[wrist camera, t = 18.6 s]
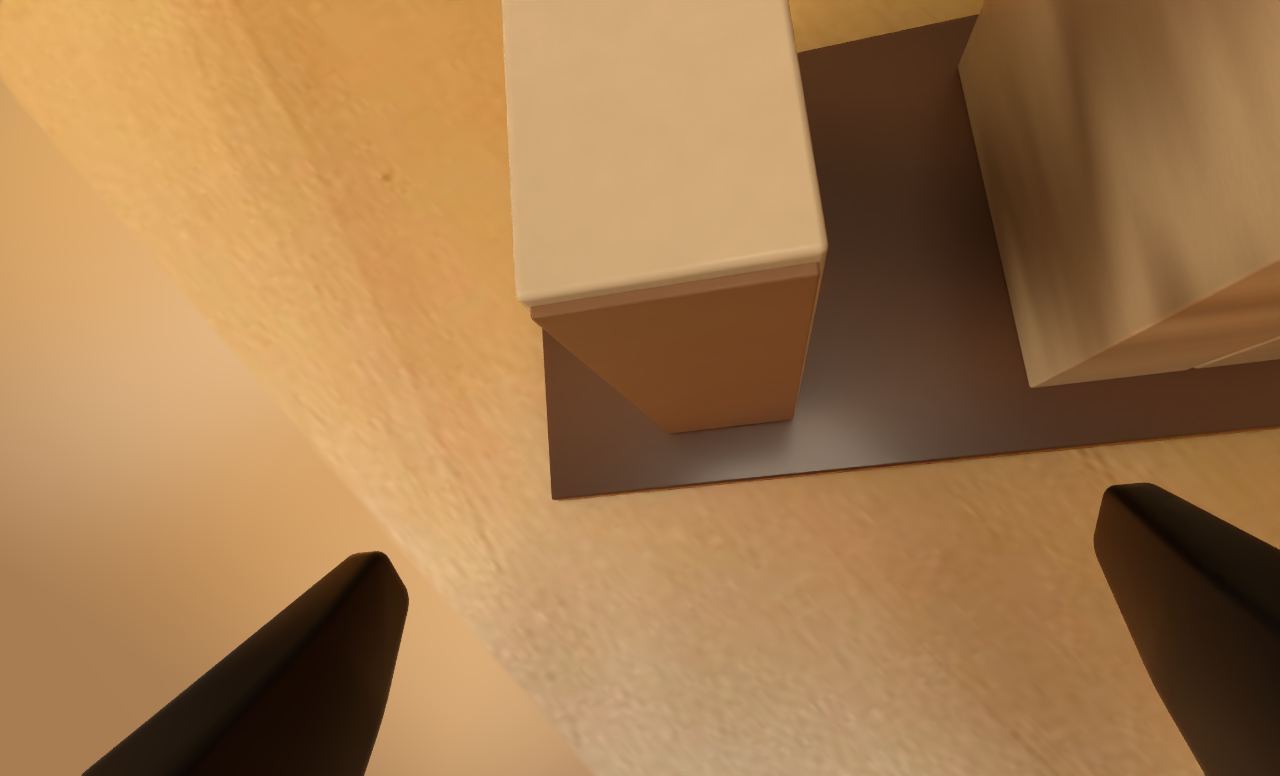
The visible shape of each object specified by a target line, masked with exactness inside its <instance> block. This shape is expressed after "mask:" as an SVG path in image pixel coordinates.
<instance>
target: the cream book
mask: <svg viewBox="0 0 1280 776" xmlns="http://www.w3.org/2000/svg"><path fill="white" fill-rule="evenodd" d="M501 4H502V25H503V45H504V66H505V87H506V108H507V129H508V149H509V170H510V191H511V212H512V232H513V253H514V274H515V295H516V298H517V300H518V301H519V302H520V303H521V304H522V305H523V306H524V307H526V308H527V309H528V310H529V311H530V312H531V318H532V320H533V321H534V322H536V323H537V324H538V325H539V326H540V327H542V328H543V329H544V330H545V331H546V332H548V333H549V334H550V335H551V336H552V337H554V338H555V339H556V340H557V341H558V342H560V343H561V344H562V345H563V346H564V347H566V348H567V349H568V350H569V351H570V352H572V353H573V354H574V355H575V356H576V357H578V358H579V359H580V360H581V361H582V362H584V363H585V364H586V365H587V366H588V367H590V368H591V369H592V370H593V371H594V372H596V373H597V374H598V375H599V376H600V377H602V378H603V379H604V380H605V381H606V382H608V383H609V384H610V385H611V386H612V387H614V388H615V389H616V390H617V391H618V392H620V393H621V394H622V395H623V396H624V397H626V398H627V399H628V400H629V401H630V402H632V403H633V404H634V405H635V406H636V407H638V408H639V409H640V410H641V411H642V412H644V413H645V414H646V415H647V416H648V417H650V418H651V419H652V420H653V421H654V422H656V423H657V424H658V425H659V426H660V427H662V428H663V429H664V430H665V431H666V432H668V433H669V434H671V433H680V432H688V431H697V430H705V429H714V428H723V427H731V426H740V425H748V424H757V423H766V422H774V421H783V420H791V419H793V415H794V413H795V411H796V406H797V401H798V396H799V391H800V386H801V381H802V376H803V371H804V366H805V361H806V356H807V351H808V345H809V340H810V335H811V330H812V325H813V320H814V315H815V310H816V305H817V300H818V295H819V290H820V285H821V280H822V275H823V270H824V265H825V260H826V255H827V250H828V240H827V234H826V228H825V221H824V215H823V209H822V203H821V197H820V191H819V185H818V178H817V172H816V166H815V160H814V154H813V148H812V142H811V136H810V129H809V123H808V117H807V111H806V105H805V99H804V93H803V86H802V80H801V74H800V68H799V62H798V56H797V50H796V44H795V37H794V31H793V25H792V19H791V13H790V7H789V1H788V0H501Z"/></svg>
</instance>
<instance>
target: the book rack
mask: <svg viewBox="0 0 1280 776" xmlns="http://www.w3.org/2000/svg"><path fill="white" fill-rule="evenodd" d="M797 56H798V62H799V68H800V74H801V80H802V86H803V93H804V99H805V105H806V111H807V117H808V123H809V129H810V136H811V142H812V148H813V154H814V160H815V166H816V172H817V178H818V185H819V191H820V197H821V203H822V209H823V215H824V221H825V228H826V234H827V240H828V250H827V255H826V260H825V265H824V270H823V275H822V280H821V285H820V290H819V295H818V300H817V305H816V310H815V315H814V320H813V325H812V330H811V335H810V340H809V345H808V351H807V356H806V361H805V366H804V371H803V376H802V381H801V386H800V391H799V396H798V401H797V406H796V411H795V413H794V415H793V419H791V420H783V421H774V422H766V423H757V424H748V425H740V426H731V427H723V428H714V429H705V430H697V431H688V432H680V433H671V434H669V433H668V432H666V431H665V430H664V429H663V428H662V427H660V426H659V425H658V424H657V423H656V422H654V421H653V420H652V419H651V418H650V417H648V416H647V415H646V414H645V413H644V412H642V411H641V410H640V409H639V408H638V407H636V406H635V405H634V404H633V403H632V402H630V401H629V400H628V399H627V398H626V397H624V396H623V395H622V394H621V393H620V392H618V391H617V390H616V389H615V388H614V387H612V386H611V385H610V384H609V383H608V382H606V381H605V380H604V379H603V378H602V377H600V376H599V375H598V374H597V373H596V372H594V371H593V370H592V369H591V368H590V367H588V366H587V365H586V364H585V363H584V362H582V361H581V360H580V359H579V358H578V357H576V356H575V355H574V354H573V353H572V352H570V351H569V350H568V349H567V348H566V347H564V346H563V345H562V344H561V343H560V342H558V341H557V340H556V339H555V338H554V337H552V336H551V335H550V334H549V333H548V332H546V331H545V330H544V329H543V328H542V333H543V350H544V368H545V386H546V403H547V421H548V439H549V456H550V474H551V492H552V499H553V500H559V501H561V500H571V499H580V498H590V497H600V496H610V495H620V494H630V493H640V492H650V491H660V490H670V489H680V488H690V487H700V486H710V485H720V484H730V483H740V482H750V481H760V480H769V479H779V478H789V477H799V476H809V475H819V474H829V473H839V472H849V471H859V470H869V469H879V468H889V467H899V466H909V465H919V464H929V463H939V462H949V461H958V460H968V459H978V458H988V457H998V456H1008V455H1018V454H1028V453H1038V452H1048V451H1058V450H1068V449H1078V448H1088V447H1098V446H1108V445H1118V444H1128V443H1138V442H1147V441H1157V440H1167V439H1177V438H1187V437H1197V436H1207V435H1217V434H1227V433H1237V432H1247V431H1257V430H1267V429H1277V428H1280V0H985V1H984V3H983V6H982V8H981V11H980V13H979V14H977V15H973V16H968V17H963V18H959V19H954V20H949V21H945V22H940V23H935V24H931V25H926V26H921V27H916V28H912V29H907V30H902V31H898V32H893V33H888V34H884V35H879V36H874V37H870V38H865V39H860V40H856V41H851V42H846V43H842V44H837V45H832V46H827V47H823V48H818V49H813V50H809V51H804V52H799V53H797Z"/></svg>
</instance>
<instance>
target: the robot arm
mask: <svg viewBox="0 0 1280 776" xmlns="http://www.w3.org/2000/svg"><path fill="white" fill-rule="evenodd" d="M1094 549H1095V553H1096V556H1097V559H1098V561H1099V564H1100V566H1101V568H1102V570H1103V573H1104V575H1105V577H1106V579H1107V582H1108V584H1109V586H1110V588H1111V591H1112V593H1113V595H1114V597H1115V600H1116V602H1117V604H1118V606H1119V609H1120V611H1121V613H1122V616H1123V618H1124V620H1125V622H1126V625H1127V627H1128V629H1129V631H1130V634H1131V636H1132V638H1133V640H1134V643H1135V645H1136V647H1137V649H1138V652H1139V654H1140V656H1141V658H1142V661H1143V663H1144V665H1145V667H1146V669H1147V671H1148V674H1149V676H1150V678H1151V680H1152V682H1153V684H1154V686H1155V688H1156V690H1157V692H1158V693H1159V695H1160V697H1161V699H1162V701H1163V702H1164V704H1165V706H1166V708H1167V710H1168V711H1169V713H1170V715H1171V717H1172V718H1173V720H1174V722H1175V723H1176V725H1177V727H1178V729H1179V730H1180V732H1181V734H1182V736H1183V737H1184V739H1185V741H1186V742H1187V744H1188V746H1189V748H1190V749H1191V751H1192V753H1193V755H1194V756H1195V758H1196V760H1197V761H1198V763H1199V765H1200V767H1201V768H1202V770H1203V772H1204V774H1205V775H1206V776H1280V550H1279V549H1277V548H1275V547H1273V546H1271V545H1270V544H1268V543H1266V542H1264V541H1262V540H1260V539H1258V538H1256V537H1254V536H1252V535H1250V534H1248V533H1247V532H1245V531H1243V530H1241V529H1239V528H1237V527H1235V526H1233V525H1231V524H1229V523H1227V522H1226V521H1224V520H1222V519H1220V518H1218V517H1216V516H1214V515H1212V514H1210V513H1208V512H1206V511H1205V510H1203V509H1201V508H1199V507H1197V506H1195V505H1193V504H1191V503H1189V502H1187V501H1185V500H1183V499H1182V498H1180V497H1178V496H1176V495H1174V494H1172V493H1170V492H1168V491H1166V490H1164V489H1162V488H1161V487H1158V486H1156V485H1154V484H1150V483H1134V484H1123V485H1114V486H1111V487H1109V488H1108V489H1107V490H1106V491H1105V492H1104V495H1103V498H1102V502H1101V507H1100V511H1099V515H1098V520H1097V524H1096V529H1095V533H1094ZM408 606H409V597H408V592H407V589H406V587H405V585H404V584H403V582H402V580H401V579H400V577H399V575H398V573H397V572H396V570H395V568H394V566H393V565H392V563H391V561H390V559H389V558H388V557H387V555H385V554H384V553H382V552H379V551H374V552H363V553H356V554H353V555H351V556H349V557H348V558H347V559H346V560H344V561H343V562H342V563H340V564H339V565H338V566H337V567H336V568H334V569H333V570H332V571H331V572H329V573H328V574H327V575H326V576H324V577H323V578H322V579H321V580H320V581H318V582H317V583H316V584H315V585H313V586H312V587H311V588H310V589H308V590H307V591H306V592H305V593H304V594H302V595H301V596H300V597H299V598H297V599H296V600H295V601H294V602H293V603H291V604H290V605H289V606H288V607H286V608H285V609H284V610H283V611H281V612H280V613H279V614H278V615H277V616H275V617H274V618H273V619H272V620H270V621H269V622H268V623H267V624H266V625H264V626H263V627H262V628H261V629H259V630H258V631H257V632H256V633H255V634H253V635H252V636H251V637H250V638H248V639H247V640H246V641H245V642H244V643H242V644H241V645H240V646H239V647H237V648H236V649H235V650H234V651H232V652H231V653H230V654H229V655H227V656H226V657H225V658H224V659H223V660H221V661H220V662H219V663H218V664H216V665H215V666H214V667H213V668H212V669H210V670H209V671H208V672H206V673H205V674H204V675H203V676H202V677H200V678H199V679H198V680H197V681H195V682H194V683H193V684H192V685H191V686H189V687H188V688H187V689H186V690H185V691H183V692H182V693H181V694H179V696H177V697H176V698H175V699H173V700H172V701H171V702H170V703H168V704H167V705H166V706H165V707H164V708H162V709H161V710H160V711H159V712H157V713H156V714H155V715H154V716H153V717H151V718H150V719H149V720H148V721H146V722H145V723H144V724H143V725H141V726H140V727H139V728H138V729H137V730H135V731H134V732H133V733H132V734H130V735H129V736H128V737H127V738H125V739H124V740H123V741H122V742H120V743H119V744H118V745H117V746H116V747H114V748H113V749H112V750H111V751H109V752H108V753H107V754H106V755H105V756H103V757H102V758H101V759H100V760H98V761H97V762H96V763H95V764H93V765H92V766H91V767H90V768H89V769H87V770H86V771H85V772H84V773H83V774H82V776H364V774H365V771H366V768H367V765H368V762H369V759H370V756H371V753H372V750H373V747H374V744H375V741H376V738H377V735H378V731H379V728H380V725H381V722H382V718H383V715H384V711H385V707H386V703H387V700H388V695H389V691H390V687H391V682H392V678H393V673H394V669H395V665H396V660H397V655H398V651H399V647H400V642H401V638H402V634H403V629H404V625H405V620H406V616H407V612H408Z"/></svg>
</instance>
